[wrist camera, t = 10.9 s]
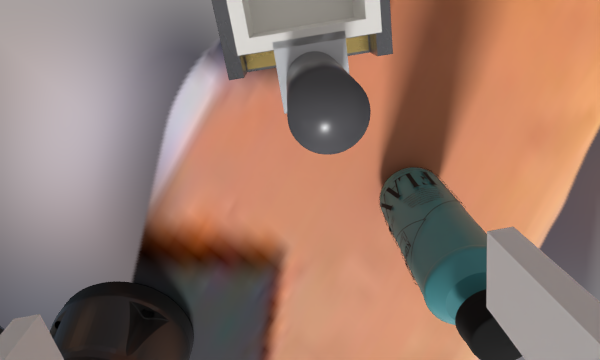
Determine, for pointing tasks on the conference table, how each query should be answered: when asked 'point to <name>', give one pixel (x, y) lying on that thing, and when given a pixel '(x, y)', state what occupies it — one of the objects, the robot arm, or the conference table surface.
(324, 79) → the open tray with handle
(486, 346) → the beverage bottle
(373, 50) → the bay
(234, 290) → the conference table surface
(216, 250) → the conference table surface
